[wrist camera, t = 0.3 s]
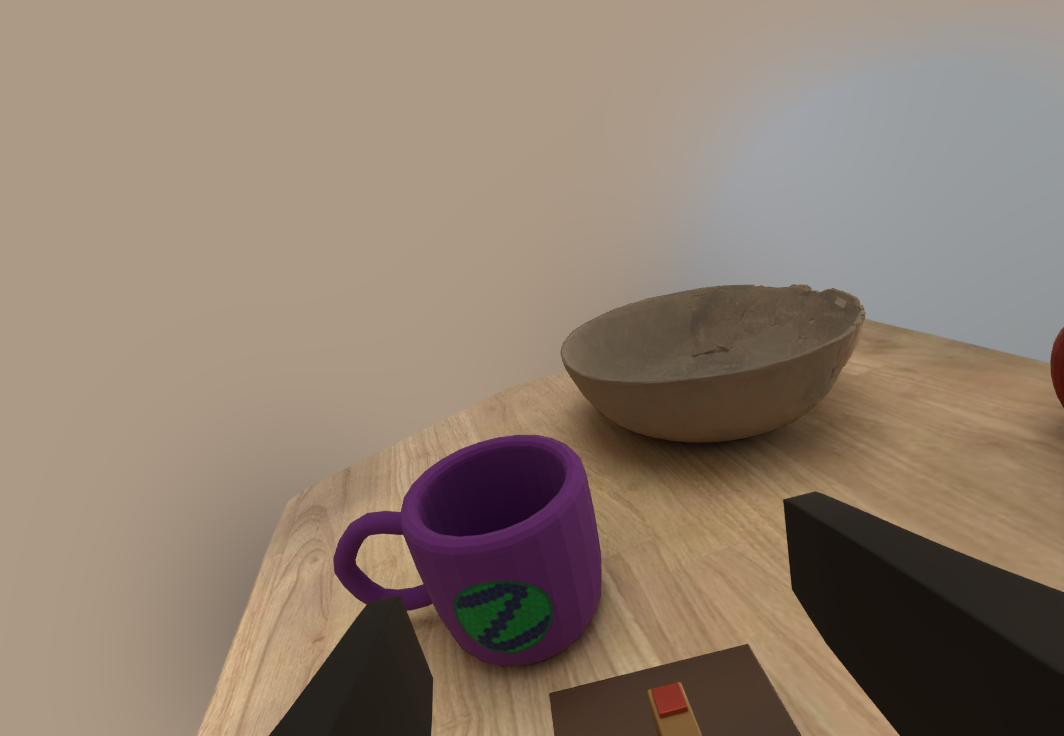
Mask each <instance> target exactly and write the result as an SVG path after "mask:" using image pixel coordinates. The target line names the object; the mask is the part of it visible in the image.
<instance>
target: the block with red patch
mask: <svg viewBox="0 0 1064 736" xmlns="http://www.w3.org/2000/svg"><path fill="white" fill-rule="evenodd" d="M647 693H648V698H649V703H650V708H651V713H652V718H653V723H654V727H655V732H656V736H702V734H701V731H700V729H699V726H698V724H697V721H696V719H695V716H694V714H693V711H692V709H691V706H690V704H689V701H688V699H687V696H686V694H685V691H684V689H683V686H682V684H681V683H680V682H677V683H673V684H669V685H665V686H661V687H657V688H653V689H649V690H648V692H647Z"/></svg>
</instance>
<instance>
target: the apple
mask: <svg viewBox="0 0 1064 736" xmlns="http://www.w3.org/2000/svg"><path fill="white" fill-rule="evenodd" d="M1051 377H1052V381H1053V386H1054V389H1055V391H1056V394H1057V397H1058V399H1059V401H1060V402H1061V404H1062V406H1063V407H1064V328H1063V329H1062V330H1061V331H1060V333H1059V334H1058V336H1057V338H1056V339H1055V342H1054V344H1053V349H1052V353H1051Z"/></svg>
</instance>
